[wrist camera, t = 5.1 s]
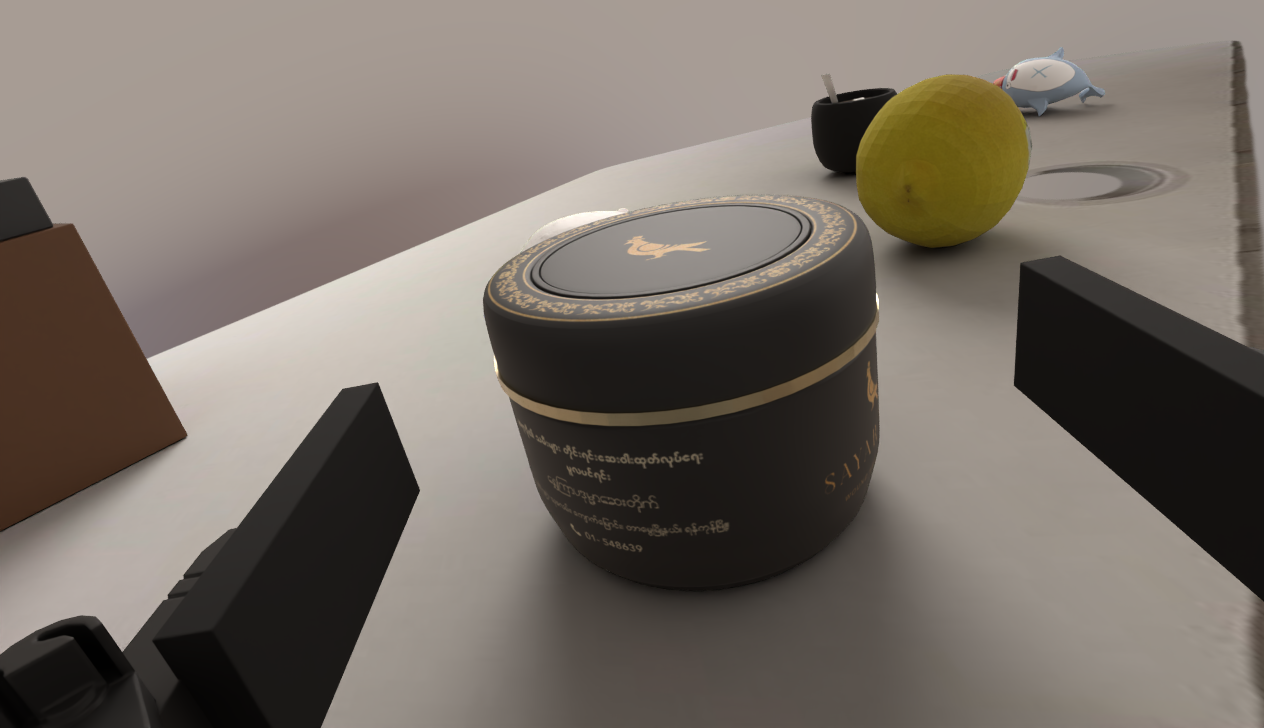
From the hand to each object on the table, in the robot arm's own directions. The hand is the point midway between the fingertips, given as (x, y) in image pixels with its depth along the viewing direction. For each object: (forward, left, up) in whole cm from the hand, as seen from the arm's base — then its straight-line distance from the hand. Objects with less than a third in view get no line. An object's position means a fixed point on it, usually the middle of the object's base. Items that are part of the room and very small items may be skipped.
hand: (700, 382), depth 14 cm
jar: (+2, +4, -6) cm, 8 cm away
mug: (+35, +31, -6) cm, 47 cm away
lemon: (+23, +14, -6) cm, 27 cm away
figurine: (+53, +30, -6) cm, 61 cm away
